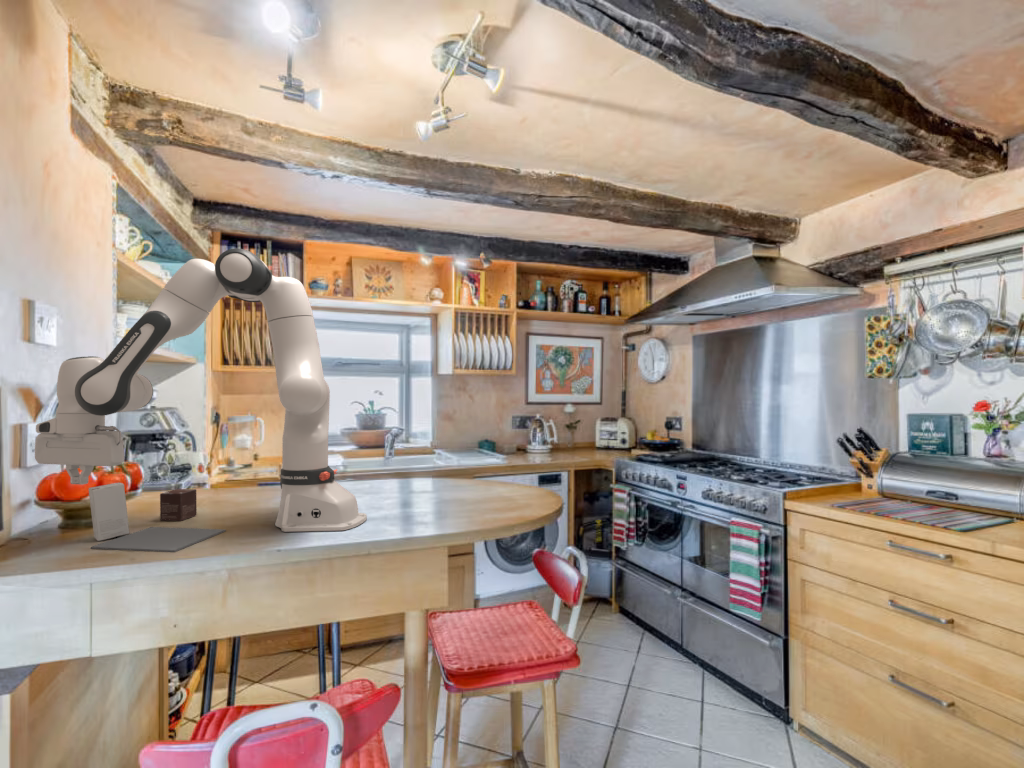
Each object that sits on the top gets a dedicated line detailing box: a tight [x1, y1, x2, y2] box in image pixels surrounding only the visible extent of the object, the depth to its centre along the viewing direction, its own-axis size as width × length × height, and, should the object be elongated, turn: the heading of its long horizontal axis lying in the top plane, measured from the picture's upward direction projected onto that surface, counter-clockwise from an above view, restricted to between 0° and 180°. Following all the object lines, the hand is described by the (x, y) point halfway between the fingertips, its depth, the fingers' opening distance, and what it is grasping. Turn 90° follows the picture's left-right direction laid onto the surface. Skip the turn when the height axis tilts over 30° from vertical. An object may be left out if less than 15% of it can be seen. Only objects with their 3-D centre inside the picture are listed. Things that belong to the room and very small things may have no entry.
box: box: [159, 488, 198, 522], centre depth 136 cm, size 6×6×7 cm
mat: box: [90, 526, 227, 553], centre depth 117 cm, size 20×16×1 cm
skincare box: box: [88, 482, 130, 542], centre depth 118 cm, size 6×4×12 cm
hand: (79, 484), depth 119 cm, fingers closed
